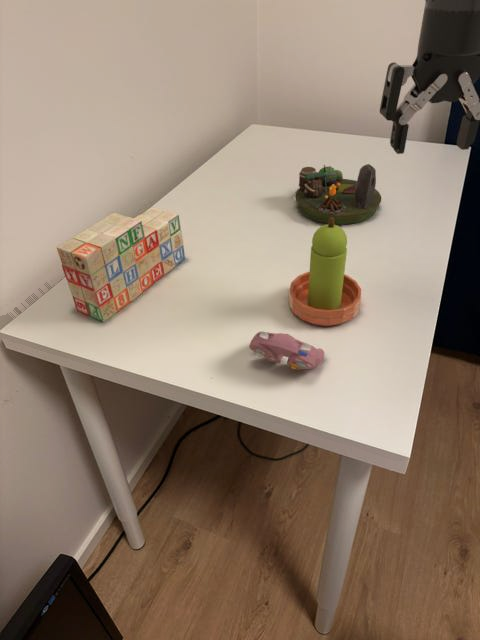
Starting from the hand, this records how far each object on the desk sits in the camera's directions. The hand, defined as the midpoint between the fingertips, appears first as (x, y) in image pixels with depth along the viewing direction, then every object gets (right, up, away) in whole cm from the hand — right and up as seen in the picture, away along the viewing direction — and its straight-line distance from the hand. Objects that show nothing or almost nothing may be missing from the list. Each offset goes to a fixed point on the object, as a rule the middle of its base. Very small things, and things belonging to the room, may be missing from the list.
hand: (430, 149), depth 63 cm
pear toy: (-11, -20, +14) cm, 27 cm away
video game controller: (-18, -28, +5) cm, 34 cm away
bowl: (-11, -20, +14) cm, 27 cm away
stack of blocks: (-43, -16, +21) cm, 51 cm away
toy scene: (-4, +2, +41) cm, 41 cm away
